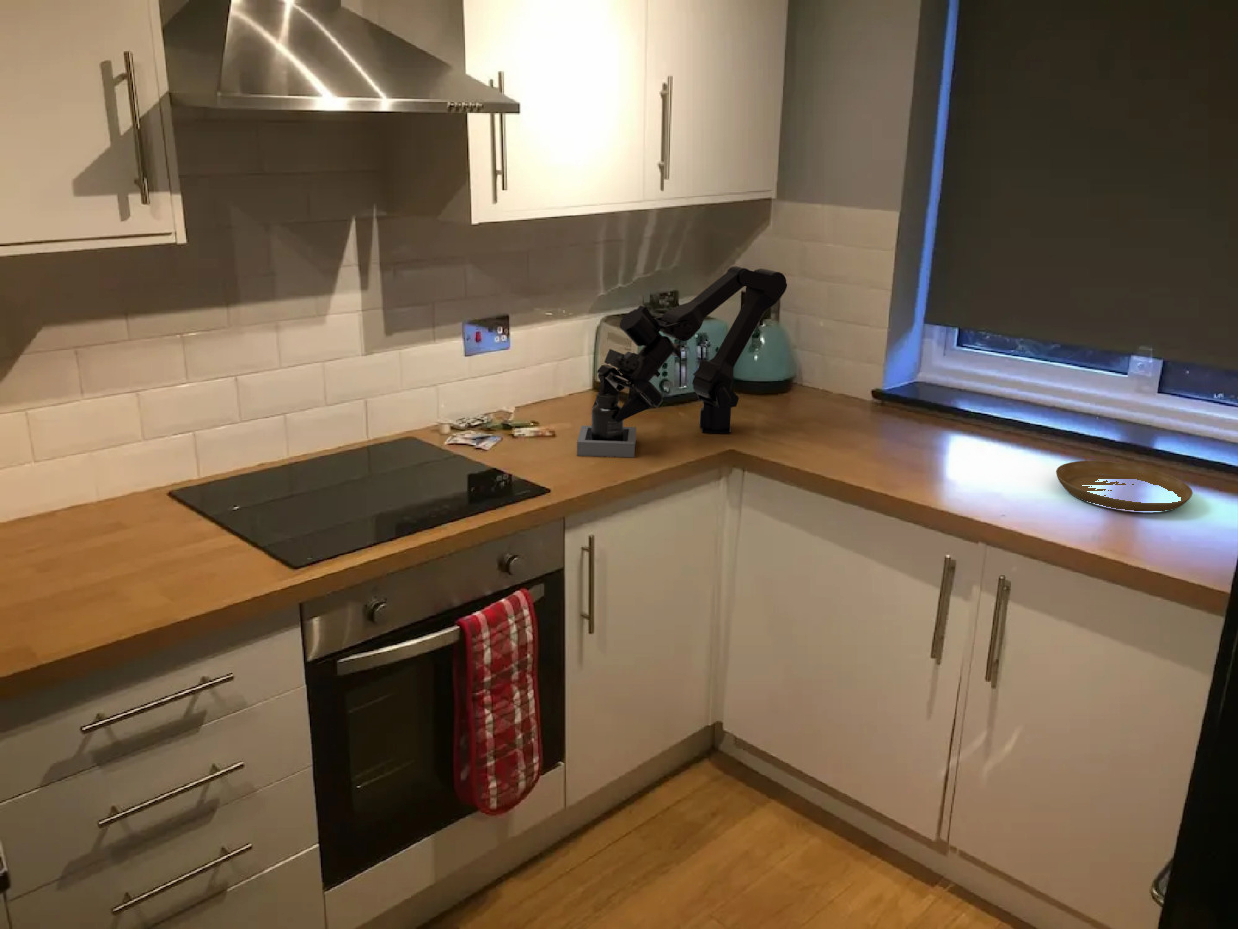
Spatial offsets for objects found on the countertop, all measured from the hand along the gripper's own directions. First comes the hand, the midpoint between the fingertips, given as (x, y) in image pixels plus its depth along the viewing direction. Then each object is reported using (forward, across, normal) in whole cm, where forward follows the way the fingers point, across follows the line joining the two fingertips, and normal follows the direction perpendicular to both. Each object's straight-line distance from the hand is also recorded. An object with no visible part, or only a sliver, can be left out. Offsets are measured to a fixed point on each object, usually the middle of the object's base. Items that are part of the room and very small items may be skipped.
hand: (604, 415), depth 223 cm
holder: (+5, 0, +6) cm, 7 cm away
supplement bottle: (+5, 0, +6) cm, 8 cm away
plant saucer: (-47, +72, +57) cm, 104 cm away
